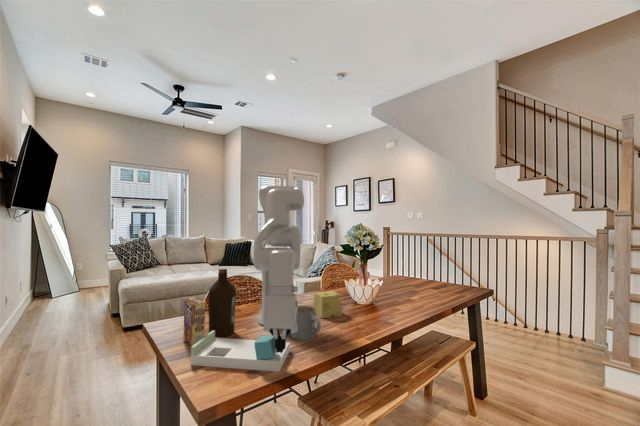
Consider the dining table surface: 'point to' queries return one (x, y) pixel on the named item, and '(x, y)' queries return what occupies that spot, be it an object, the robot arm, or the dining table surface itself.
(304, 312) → the coffee mug
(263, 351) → the block
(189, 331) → the candy box
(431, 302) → the dining table surface
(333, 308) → the cheese
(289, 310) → the robot arm
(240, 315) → the dining table surface
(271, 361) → the white board with holes
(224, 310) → the olive oil
